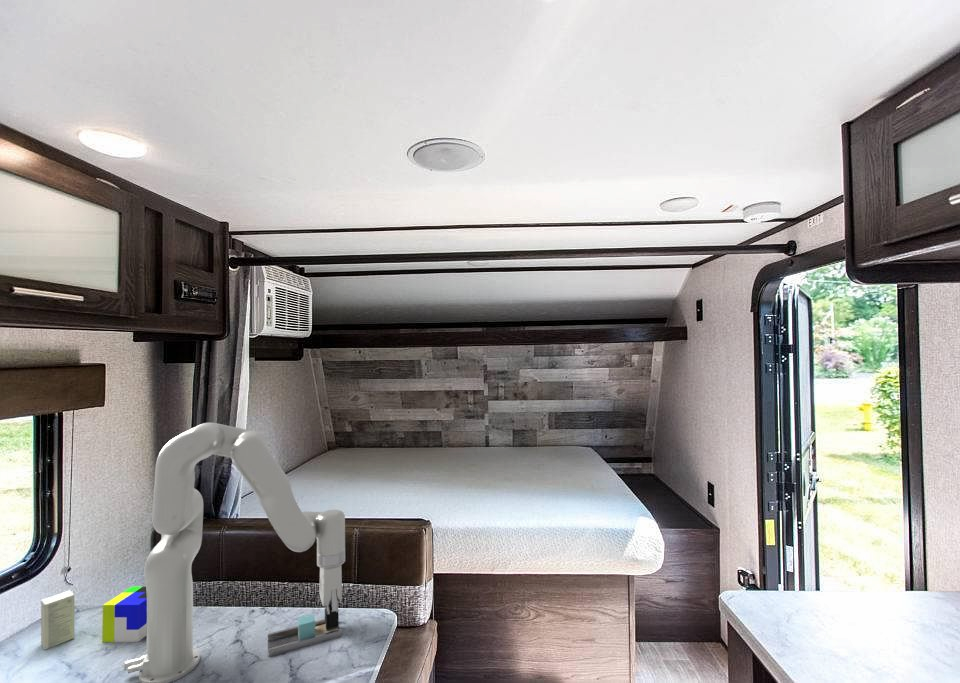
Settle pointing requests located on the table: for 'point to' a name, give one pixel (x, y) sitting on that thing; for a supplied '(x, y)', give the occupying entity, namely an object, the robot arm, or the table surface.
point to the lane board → (298, 643)
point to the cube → (306, 626)
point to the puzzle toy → (126, 616)
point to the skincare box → (57, 619)
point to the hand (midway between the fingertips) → (331, 624)
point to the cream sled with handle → (323, 628)
